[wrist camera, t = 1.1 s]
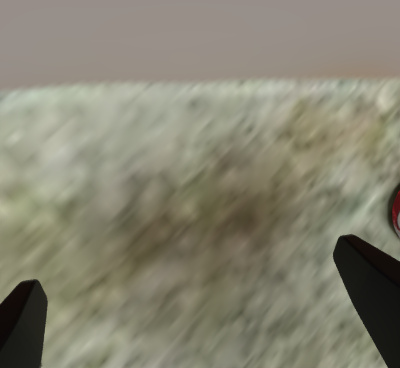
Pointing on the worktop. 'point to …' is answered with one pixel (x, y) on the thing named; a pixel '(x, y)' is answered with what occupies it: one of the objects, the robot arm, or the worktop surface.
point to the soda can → (396, 214)
